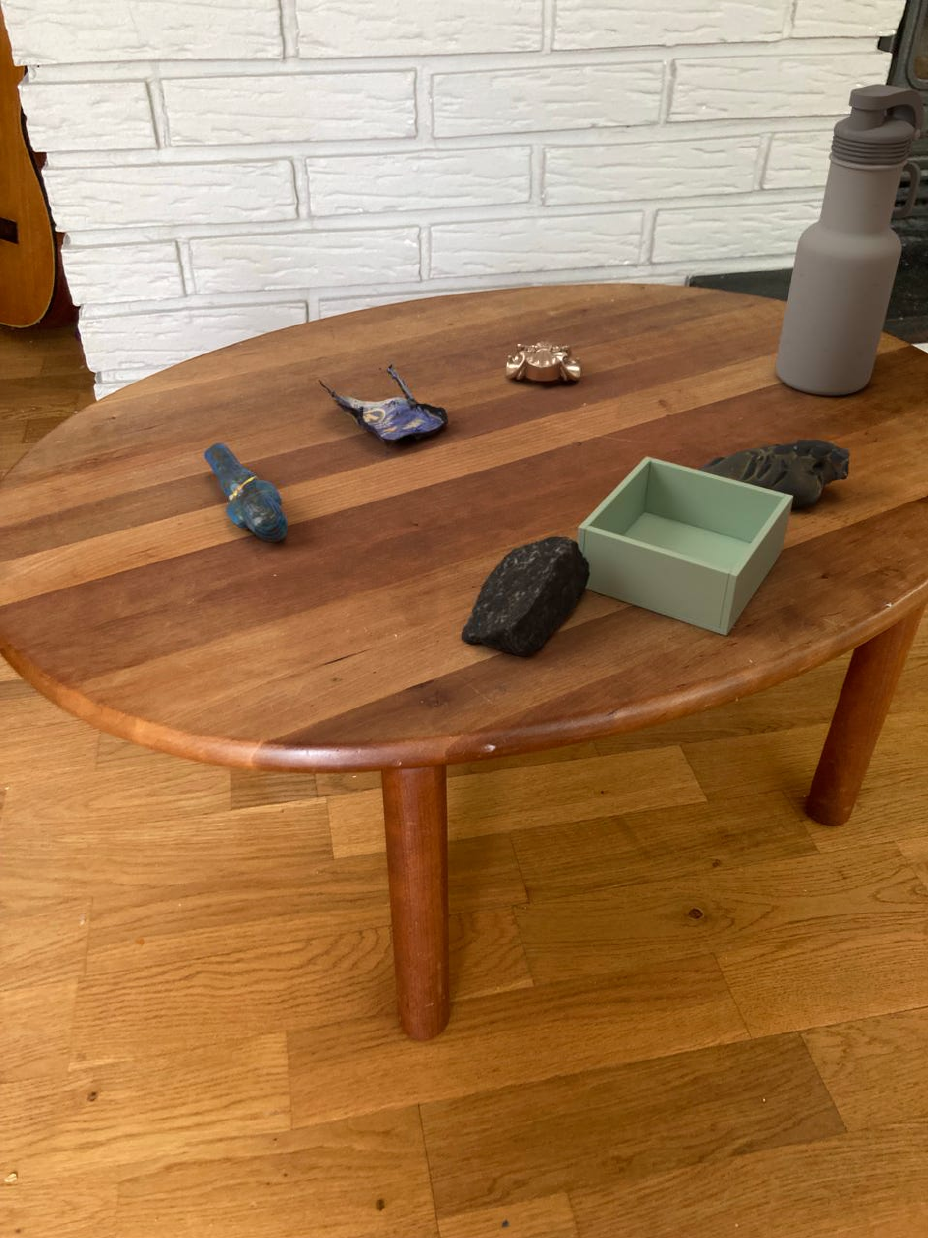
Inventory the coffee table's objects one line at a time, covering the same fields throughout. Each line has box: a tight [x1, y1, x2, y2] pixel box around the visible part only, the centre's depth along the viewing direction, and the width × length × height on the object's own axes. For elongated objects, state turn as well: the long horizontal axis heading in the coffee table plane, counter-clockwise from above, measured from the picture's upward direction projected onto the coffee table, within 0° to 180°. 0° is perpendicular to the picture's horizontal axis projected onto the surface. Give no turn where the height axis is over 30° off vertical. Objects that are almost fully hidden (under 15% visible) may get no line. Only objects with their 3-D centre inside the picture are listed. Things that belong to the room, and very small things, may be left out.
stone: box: [698, 439, 851, 509], centre depth 91 cm, size 7×13×5 cm, turn 85°
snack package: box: [318, 363, 449, 454], centre depth 102 cm, size 12×6×12 cm
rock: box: [461, 535, 590, 657], centre depth 78 cm, size 7×10×6 cm
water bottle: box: [775, 83, 925, 397], centre depth 102 cm, size 10×10×28 cm
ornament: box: [505, 340, 581, 382], centre depth 111 cm, size 8×7×4 cm
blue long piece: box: [203, 442, 289, 543], centre depth 91 cm, size 5×4×15 cm
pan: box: [577, 456, 793, 637], centre depth 82 cm, size 13×13×6 cm
